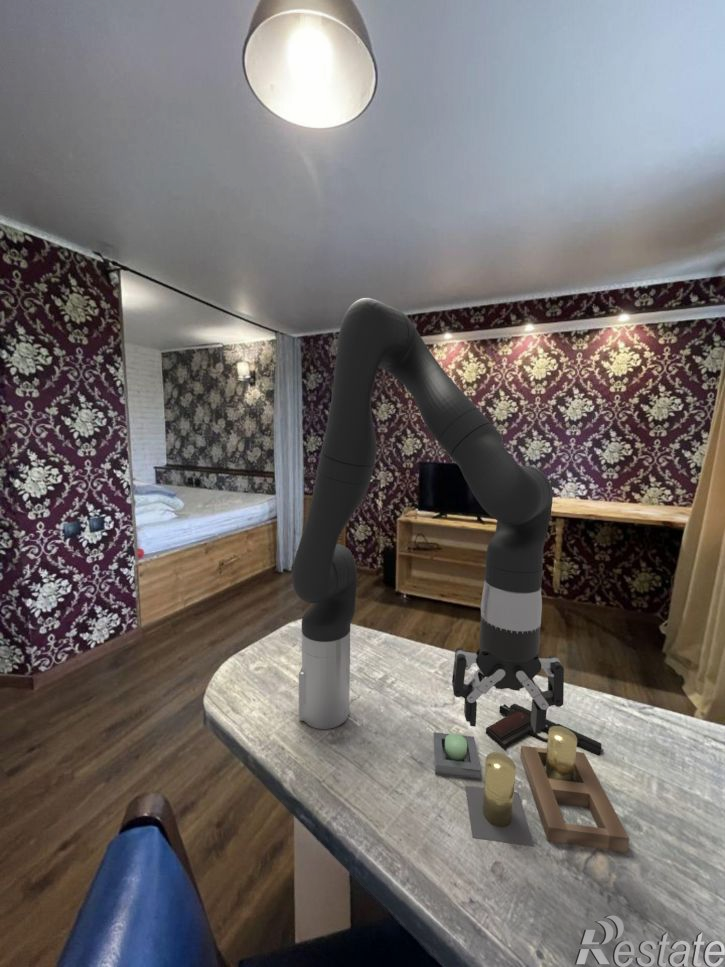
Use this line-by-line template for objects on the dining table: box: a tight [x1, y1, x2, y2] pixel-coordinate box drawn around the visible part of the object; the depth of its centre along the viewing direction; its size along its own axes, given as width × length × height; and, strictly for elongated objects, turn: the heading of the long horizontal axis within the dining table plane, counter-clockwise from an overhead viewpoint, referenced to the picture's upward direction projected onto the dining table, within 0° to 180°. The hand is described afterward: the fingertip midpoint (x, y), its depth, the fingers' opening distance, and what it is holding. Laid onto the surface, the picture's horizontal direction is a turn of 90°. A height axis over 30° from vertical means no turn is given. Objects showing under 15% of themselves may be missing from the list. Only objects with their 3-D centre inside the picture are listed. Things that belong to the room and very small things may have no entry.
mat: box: [464, 785, 535, 847], centre depth 57 cm, size 8×8×1 cm
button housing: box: [432, 731, 482, 781], centre depth 66 cm, size 7×7×2 cm
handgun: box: [485, 703, 603, 757], centre depth 70 cm, size 2×17×12 cm
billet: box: [483, 752, 516, 827], centre depth 56 cm, size 4×4×8 cm
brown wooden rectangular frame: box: [519, 745, 630, 853], centre depth 59 cm, size 10×14×2 cm
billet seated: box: [544, 726, 578, 782], centre depth 62 cm, size 4×4×8 cm
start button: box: [445, 733, 467, 761], centre depth 66 cm, size 4×4×2 cm
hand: (503, 725), depth 55 cm, fingers open, 8 cm apart
